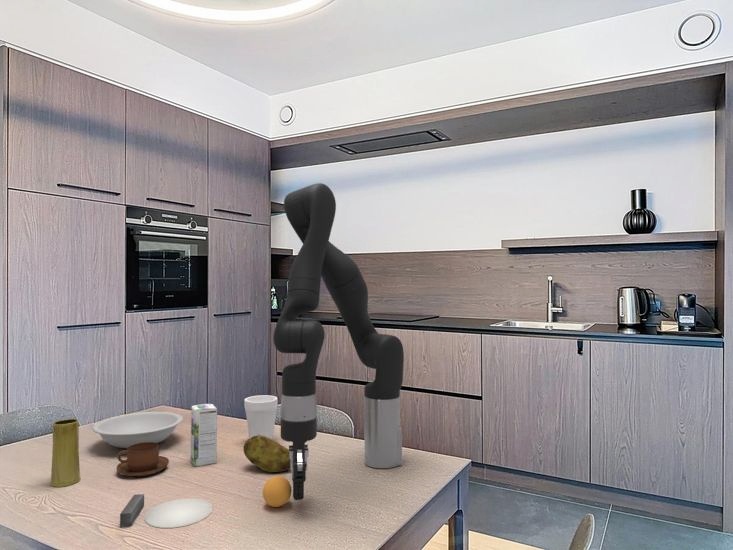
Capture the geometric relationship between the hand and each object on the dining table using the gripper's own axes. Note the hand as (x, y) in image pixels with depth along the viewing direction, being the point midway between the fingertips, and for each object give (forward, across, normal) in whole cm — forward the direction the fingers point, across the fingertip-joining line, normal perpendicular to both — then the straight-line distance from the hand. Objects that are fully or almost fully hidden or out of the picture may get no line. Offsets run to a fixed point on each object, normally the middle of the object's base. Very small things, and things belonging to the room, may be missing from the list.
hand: (298, 498), depth 107 cm
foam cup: (+2, +44, +9) cm, 45 cm away
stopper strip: (+2, +2, +33) cm, 33 cm away
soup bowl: (+2, +50, +43) cm, 66 cm away
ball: (-1, +1, +4) cm, 5 cm away
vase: (+2, +24, +53) cm, 58 cm away
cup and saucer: (+2, +28, +37) cm, 47 cm away
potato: (+2, +23, +6) cm, 24 cm away
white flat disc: (+2, +2, +24) cm, 24 cm away
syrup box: (+2, +32, +23) cm, 39 cm away
